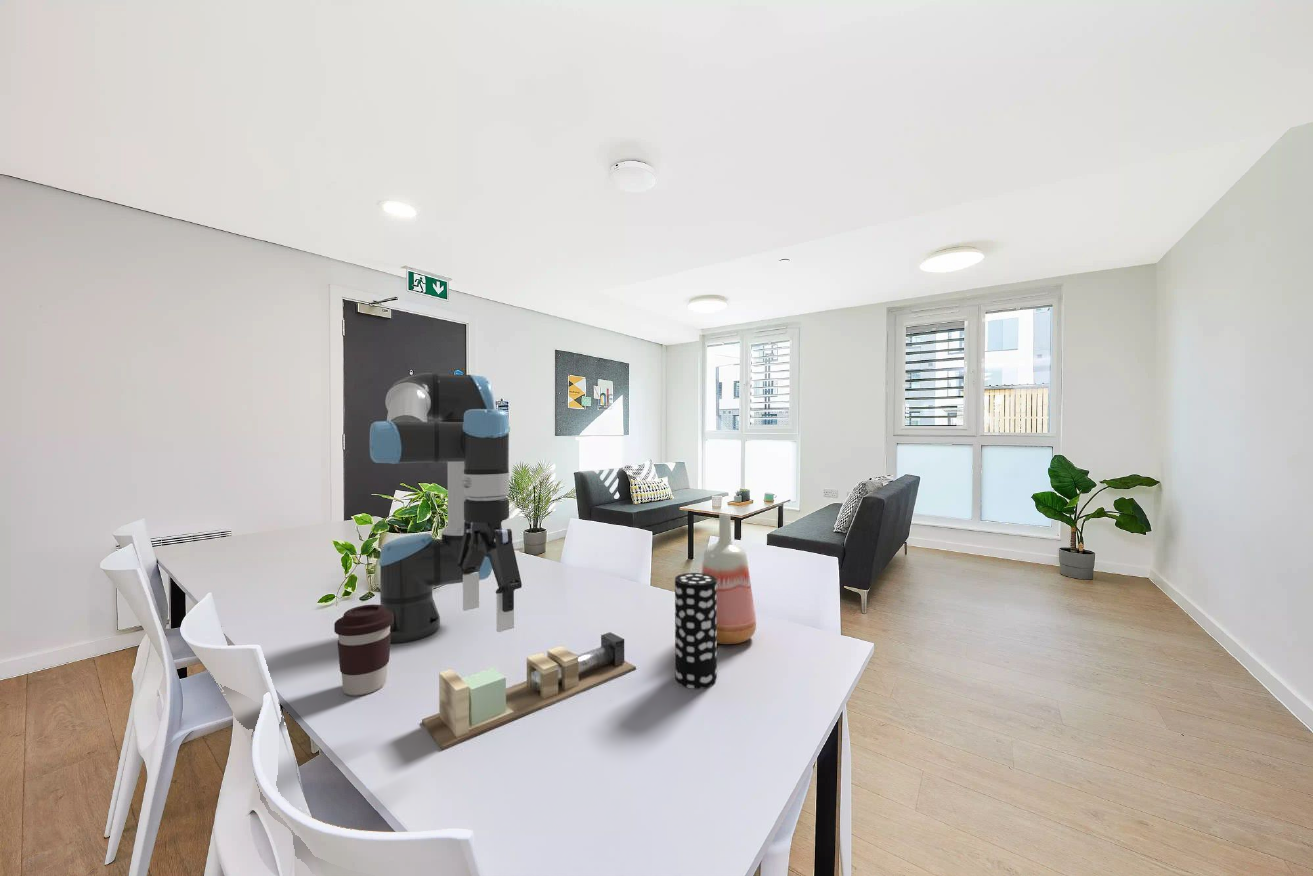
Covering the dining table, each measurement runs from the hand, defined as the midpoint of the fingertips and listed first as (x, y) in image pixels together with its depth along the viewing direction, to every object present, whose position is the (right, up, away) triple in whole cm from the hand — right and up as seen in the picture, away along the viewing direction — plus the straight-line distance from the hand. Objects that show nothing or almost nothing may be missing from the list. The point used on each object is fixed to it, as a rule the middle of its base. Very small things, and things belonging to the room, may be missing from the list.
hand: (487, 618), depth 86 cm
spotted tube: (+38, -17, +12) cm, 43 cm away
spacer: (-1, -16, -1) cm, 16 cm away
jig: (+8, -17, +7) cm, 20 cm away
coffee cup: (-27, -17, +9) cm, 33 cm away
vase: (+46, -17, +33) cm, 59 cm away
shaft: (+14, -16, +13) cm, 25 cm away
